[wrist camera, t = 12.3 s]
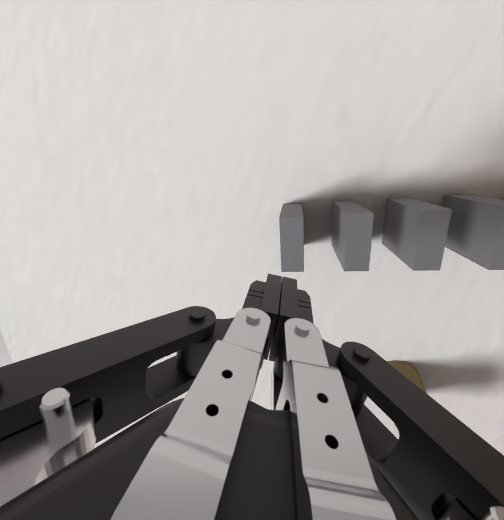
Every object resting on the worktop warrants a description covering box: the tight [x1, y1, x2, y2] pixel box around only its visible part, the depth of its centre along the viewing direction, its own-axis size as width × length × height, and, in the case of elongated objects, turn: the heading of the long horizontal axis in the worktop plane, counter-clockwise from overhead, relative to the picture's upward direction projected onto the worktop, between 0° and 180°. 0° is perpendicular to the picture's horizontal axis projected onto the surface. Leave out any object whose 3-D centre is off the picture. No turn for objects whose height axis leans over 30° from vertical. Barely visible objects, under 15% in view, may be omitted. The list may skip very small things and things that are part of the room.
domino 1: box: [279, 203, 304, 272], centre depth 25 cm, size 5×2×8 cm, turn 5°
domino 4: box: [442, 194, 504, 270], centre depth 22 cm, size 5×2×8 cm, turn 5°
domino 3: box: [382, 197, 452, 271], centre depth 23 cm, size 5×2×8 cm, turn 5°
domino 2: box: [332, 200, 374, 271], centre depth 24 cm, size 5×2×8 cm, turn 5°
